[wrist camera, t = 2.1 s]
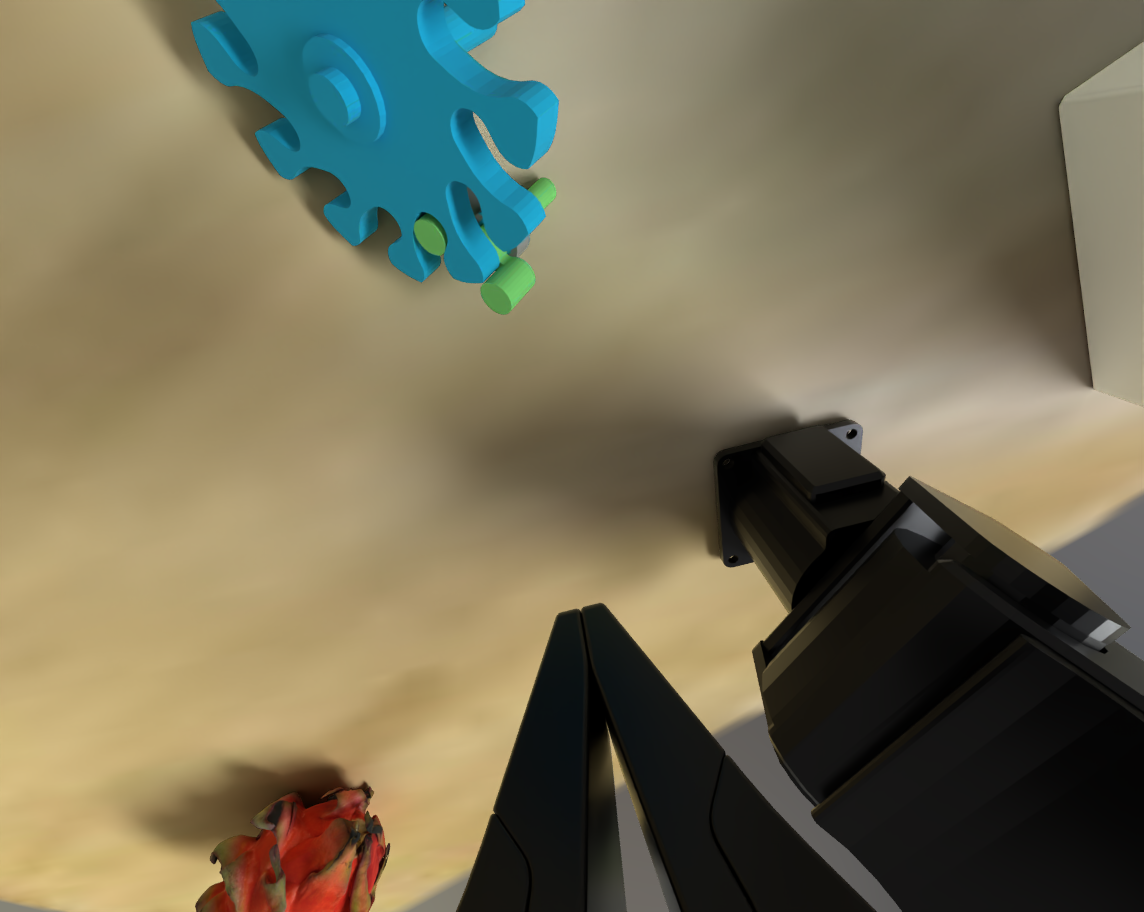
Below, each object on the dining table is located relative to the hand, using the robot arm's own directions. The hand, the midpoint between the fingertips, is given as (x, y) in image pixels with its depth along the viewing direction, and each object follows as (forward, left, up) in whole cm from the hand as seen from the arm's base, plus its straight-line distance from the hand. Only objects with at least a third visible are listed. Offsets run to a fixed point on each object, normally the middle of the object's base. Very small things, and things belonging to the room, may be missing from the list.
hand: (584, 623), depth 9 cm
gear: (+9, +2, -12) cm, 15 cm away
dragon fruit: (-23, +19, -12) cm, 32 cm away
